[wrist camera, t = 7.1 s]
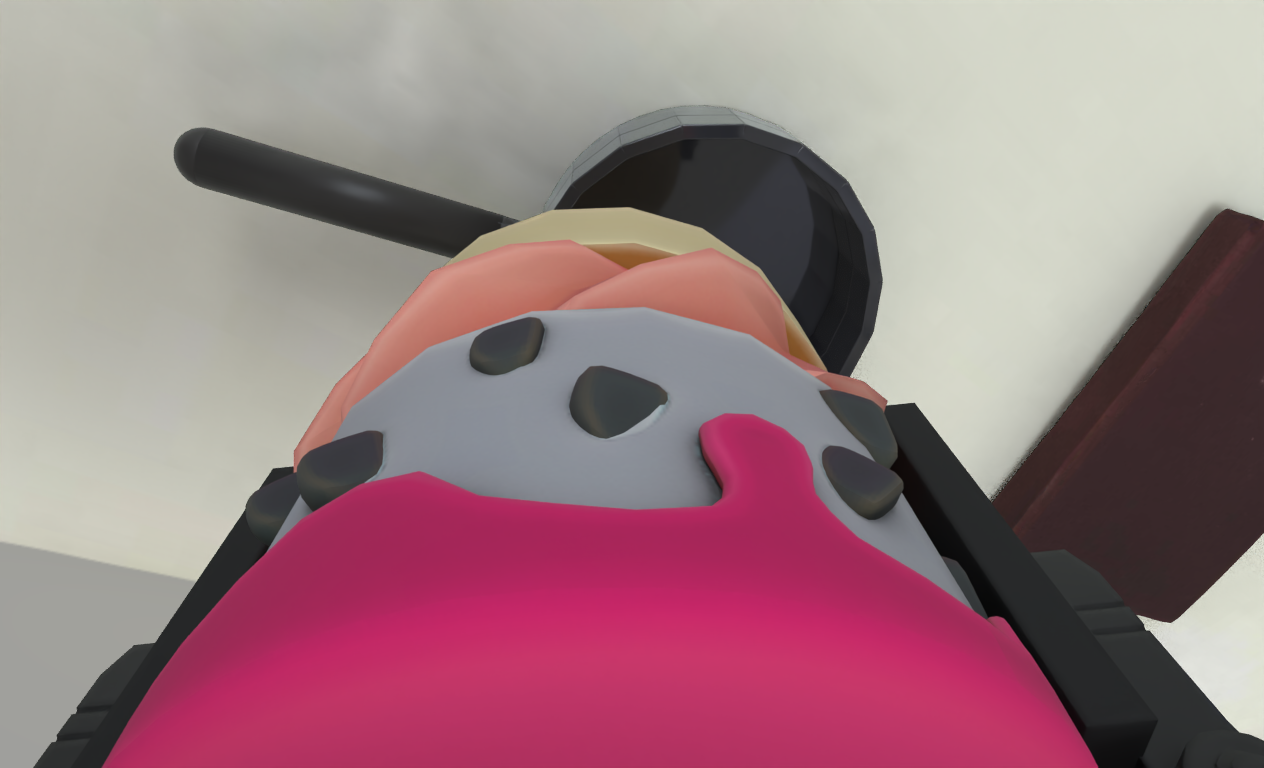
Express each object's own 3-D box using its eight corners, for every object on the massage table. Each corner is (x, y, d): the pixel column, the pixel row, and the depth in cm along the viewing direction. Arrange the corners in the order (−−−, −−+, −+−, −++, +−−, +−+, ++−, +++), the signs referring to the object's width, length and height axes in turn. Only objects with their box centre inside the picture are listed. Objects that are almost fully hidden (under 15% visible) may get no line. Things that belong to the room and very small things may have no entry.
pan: (899, 166, 29) (948, 193, 25) (769, 431, 35) (791, 487, 31) (583, 55, 26) (582, 67, 22) (502, 361, 32) (489, 413, 28)
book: (958, 532, 39) (987, 575, 36) (1210, 200, 30) (1275, 222, 27) (1137, 583, 41) (1177, 627, 38) (1416, 292, 33) (1494, 321, 30)
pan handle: (563, 226, 27) (561, 242, 25) (550, 274, 28) (547, 293, 26) (192, 115, 24) (161, 124, 22) (191, 171, 25) (160, 185, 23)
